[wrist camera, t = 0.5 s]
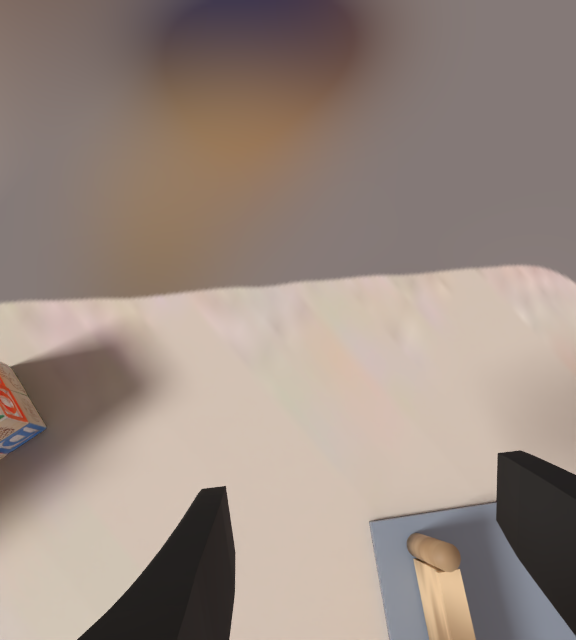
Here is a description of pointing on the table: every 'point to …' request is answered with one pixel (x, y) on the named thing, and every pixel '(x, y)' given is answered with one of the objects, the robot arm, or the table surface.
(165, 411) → the table surface
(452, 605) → the oak fence section
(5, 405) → the stack of blocks
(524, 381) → the table surface
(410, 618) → the board
